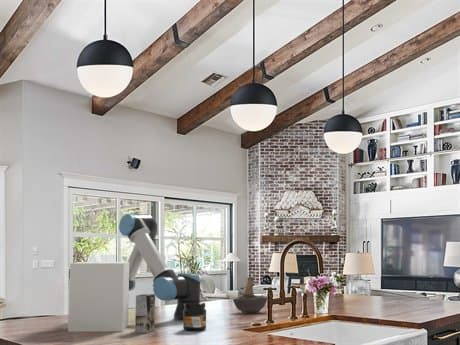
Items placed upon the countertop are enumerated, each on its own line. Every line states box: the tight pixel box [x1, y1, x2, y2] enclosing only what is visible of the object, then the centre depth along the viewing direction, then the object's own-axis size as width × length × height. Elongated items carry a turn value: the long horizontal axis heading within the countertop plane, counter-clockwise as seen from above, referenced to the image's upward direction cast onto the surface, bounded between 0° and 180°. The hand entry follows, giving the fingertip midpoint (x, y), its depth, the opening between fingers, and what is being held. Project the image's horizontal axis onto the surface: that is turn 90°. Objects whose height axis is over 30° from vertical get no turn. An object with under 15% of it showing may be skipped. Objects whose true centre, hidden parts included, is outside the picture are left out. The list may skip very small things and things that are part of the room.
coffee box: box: [134, 293, 156, 334], centre depth 278 cm, size 9×6×16 cm
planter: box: [232, 276, 268, 314], centre depth 352 cm, size 15×17×20 cm
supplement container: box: [182, 301, 207, 332], centre depth 283 cm, size 10×10×12 cm
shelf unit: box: [67, 261, 130, 333], centre depth 289 cm, size 24×21×30 cm
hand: (108, 273), depth 314 cm, fingers open, 13 cm apart
